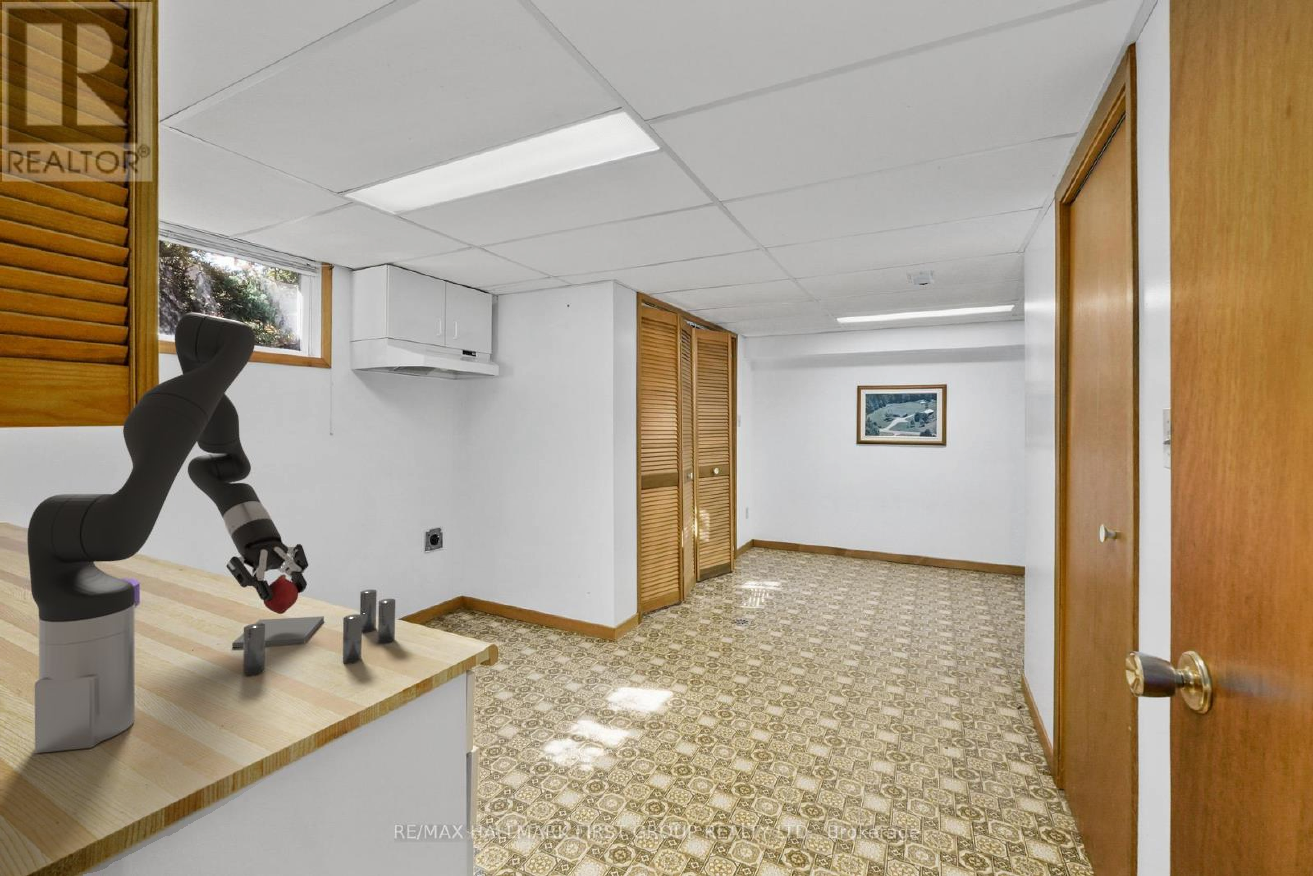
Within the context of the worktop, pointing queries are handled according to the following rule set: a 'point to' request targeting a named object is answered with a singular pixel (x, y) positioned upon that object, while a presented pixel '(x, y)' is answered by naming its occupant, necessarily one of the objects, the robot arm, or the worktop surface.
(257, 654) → the spacer field
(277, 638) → the mat
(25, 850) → the worktop surface
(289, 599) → the onion
